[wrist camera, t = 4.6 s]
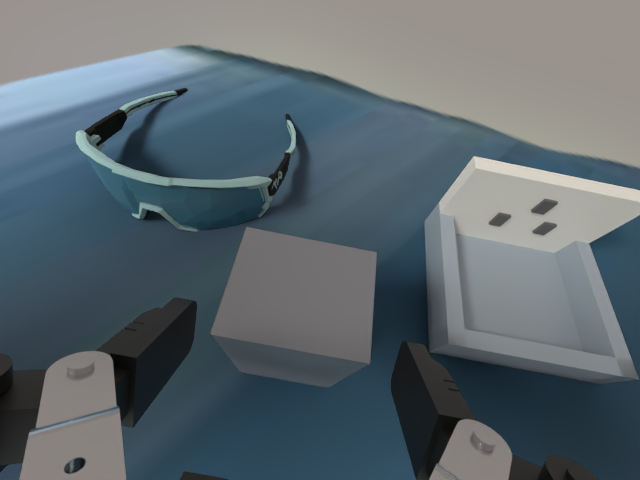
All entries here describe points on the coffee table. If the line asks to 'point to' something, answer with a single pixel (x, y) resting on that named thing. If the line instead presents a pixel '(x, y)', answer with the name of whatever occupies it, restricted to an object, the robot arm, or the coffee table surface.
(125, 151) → the coffee table surface
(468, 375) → the coffee table surface
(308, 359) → the gray rectangular block
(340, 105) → the coffee table surface
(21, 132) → the coffee table surface
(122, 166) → the sunglasses
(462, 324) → the socket bay
